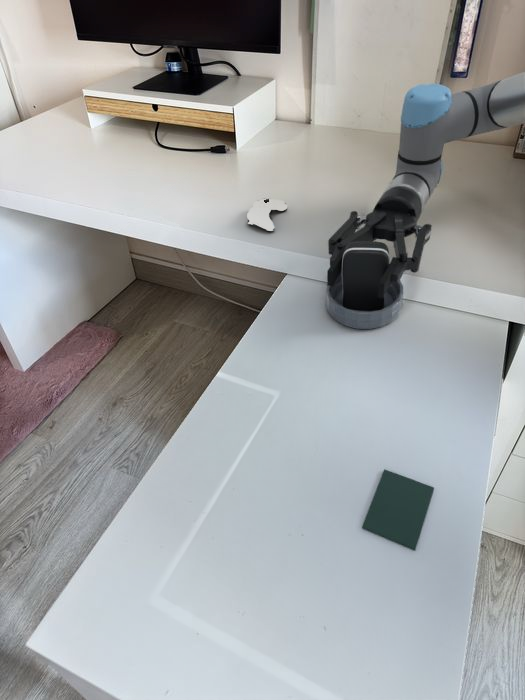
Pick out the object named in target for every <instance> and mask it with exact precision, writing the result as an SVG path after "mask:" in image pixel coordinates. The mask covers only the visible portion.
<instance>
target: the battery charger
mask: <svg viewBox="0 0 525 700" xmlns="http://www.w3.org/2000/svg"><path fill="white" fill-rule="evenodd" d="M389 250H390V249H389V247H388V245H387V244H386V243H384V242H382V241H373V242H370V241H355V242H350V243H348V244H347V245H346V247H345V249H344V254H343V258H342V288H343V301H342V306H343V307H345V308H347V309H355V310H382V309H384V307H385V296H384V298H380V297H378V293H379V283H380V281H381V279H382V277H383V275H384V273H385V271H386V270H387V268H388V266H389V264H390V252H389Z"/></svg>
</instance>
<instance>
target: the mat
mask: <svg viewBox="0 0 525 700" xmlns="http://www.w3.org/2000/svg"><path fill="white" fill-rule="evenodd" d="M434 490H435V487H434V486H431V485H429V484H426V483H423V482H420V481H417V480H415V479H412V478H410V477H406V476H404V475H402V474H399V473H396V472H394V471H391V470H388V469H386V468H385V469H383V471H382V474H381V477H380V480H379V482H378V485H377V488H376V490H375V493H374V495H373V497H372V500H371V503H370V505H369V507H368V510H367V513H366V516H365V518H364V521H363V523H362V526H361V529H363V530H366V531H368V532H371V533H373V534H375V535H378V536H380V537H382V538H385V539H387V540H390V541H392V542H394V543H397V544H399V545H401V546H403V547H406V548H408V549H411V550H414V551H416V549H417V547H418V546H417V545H418V542H419V539H420V537H421V536H420V535H421V533H422V529H423V527H424V523H425V520H426V516H427V513H428V511H429V506H430V503H431V499H432V496H433V493H434V492H435V491H434Z"/></svg>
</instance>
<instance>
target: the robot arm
mask: <svg viewBox="0 0 525 700" xmlns="http://www.w3.org/2000/svg"><path fill="white" fill-rule="evenodd" d="M523 124H525V71H522V72H519V73H517V74H514V75H511V76H509V77H506V78H504V79H500V80H496V81H495V82H492V83H489V84H486V85H483V86H478V87H475V88H471V89H468V90H463V91H458V92H454V93H452V91H451V89H450V88H449V87H448V86H445V85H443V84H438V83H429V84H425V83H423V84H417V85H416V86H413V87H411V88H410V89H409V90H408V91H407V92H406V93H405V96H404V100H403V104H402V110H401V115H400V133H399V145H398V151H397V159H396V169H395V174H394V176H393V178H392V179H391V180H390V182H389V184H388V185H387V187H386V189H385V190H384V192H383V193H382V194H381V196H380V198H379V199H378V201H377V202H376V204H375V205H374V207H373V209H372V211H370V212H368V213H367V214H366V215H359V212H358V211H356V210H352V211H351V212H350V213H349V218H348V219H346V221H345V222H344V223H343V224H342V225H341V226H340V227H338V229H337V230H336V231H335V232H334V233H333V234H332V235H331V236H330V237H329V238H328V245H327V246H328V247H327V248H328V254H329V255H331V256H330V257H329V268H328V269H327V271H326V272H327V273H326V274H327V277H326V279H327V282H326V286H327V285H329V286H333V284H334V282H335V281H336V279H337V278H338V276H339V274H340V273H341V271H342V258H343V254H344V249H345V247H346V245H347V244H348V243H350V242H355V241H370V242H376V240H384V241H387V242H391V243H393V248H394V254H395V256H393V257H392V259H391V260H390V261H389V266H388V268H387V270H386V271H385V273H384V275H383V277H382V279H381V281H380V283H379V293H378V297H380V298H384V296H385V294H386V292H387V290H388V288H389V286H390V284H391V282H396V283H397V282H399V281H401V278H402V277H403V275H404V273H405V272H406V271H409V272H411V273H417V272H419V270H420V265H421V260H422V257H423V252H424V247H425V245H426V244H427V243H428V242H429V241H430V239H431V233H432V227H433V226H432V224H430V223H426V224H423V225H422V226H421V225H418V221H419V220H420V218H421V215H422V213H423V211H424V209H425V208H426V206H427V204H428V202H429V200H430V198H431V196H432V194H433V192H434V191H435V188H437V187H438V184H440V181H441V177H442V174H443V170H444V164H443V161H442V156H443V152H444V147H445V144H448V143H451V142H455V141H458V140H462V139H466V138H470V137H474V136H478V135H482V134H486V133H490V132H494V131H499V130H503V129H508V128H510V127H514V126H519V125H523ZM362 225H364V226H363V227H361V226H362ZM360 227H361V228H360ZM412 235H414V238H415V242H414V243H415V245H414V247H413V252H412V255H411V256H410V257H408V254H409V253H408V252H407V247H406V242H405V241H406V240H405V238H406V237H410V236H412Z"/></svg>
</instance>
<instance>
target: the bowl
mask: <svg viewBox="0 0 525 700" xmlns="http://www.w3.org/2000/svg"><path fill="white" fill-rule="evenodd" d="M403 300H404V285H403V283H402V280H400V281H399V282H397V283H396V282H391V284H390V286H389V288H388V290H387V292H386V294H385V307H384V309H382V310H355V309H347V308H345V307H343V306H342V301H343V288H342V271H341V273H340V274H339V276H338V278H337V279H336V281H335V282H334V284H333V286H329V285H327V284H326V288H325V306H326V309H327V312H328V314H329V315H330V316H331V317H332V318H333V320H334V321H336V322H338V323H339V324H341V325H344V326H346V327H350V328H353V329H358V330H359V329H362V330H371V329H376V328H381V327H383V326H385V325H388V324H391V323H392V322H393V321H394V320H395V319H396V318H397V317H399V314H400V313H401V311H402V306H403Z"/></svg>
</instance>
